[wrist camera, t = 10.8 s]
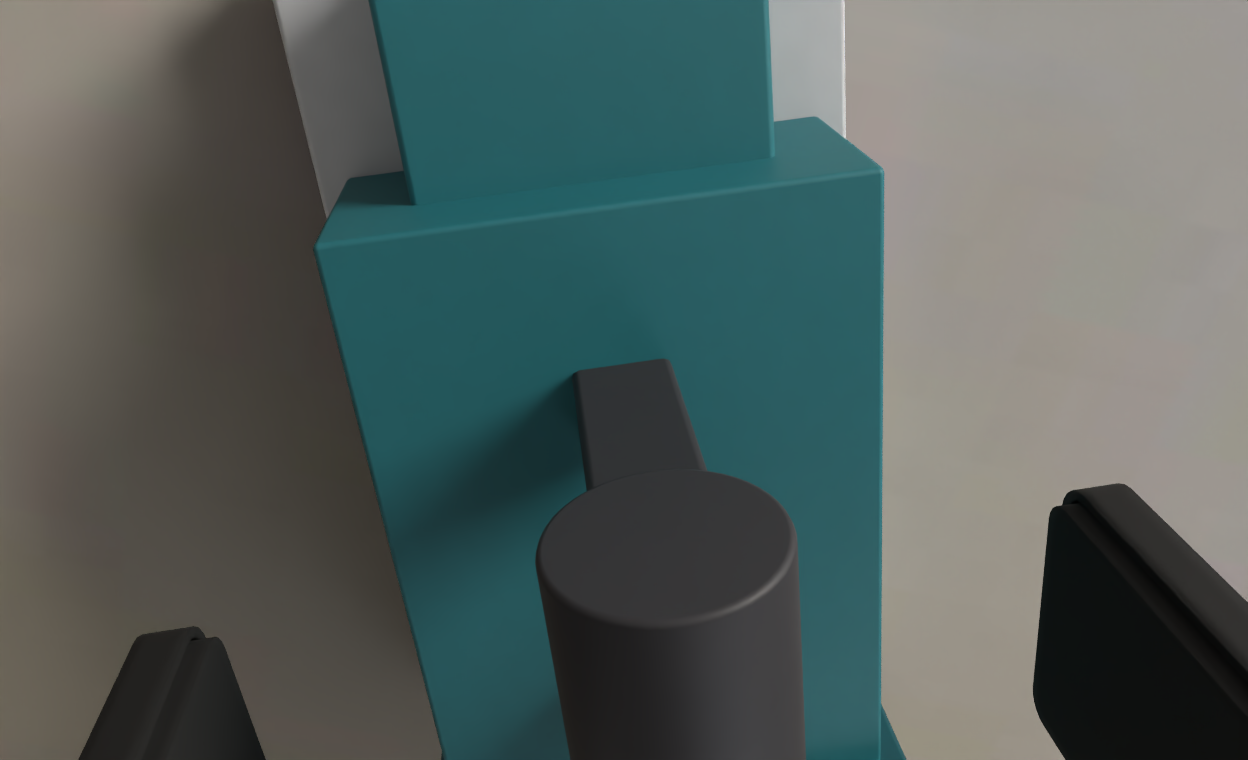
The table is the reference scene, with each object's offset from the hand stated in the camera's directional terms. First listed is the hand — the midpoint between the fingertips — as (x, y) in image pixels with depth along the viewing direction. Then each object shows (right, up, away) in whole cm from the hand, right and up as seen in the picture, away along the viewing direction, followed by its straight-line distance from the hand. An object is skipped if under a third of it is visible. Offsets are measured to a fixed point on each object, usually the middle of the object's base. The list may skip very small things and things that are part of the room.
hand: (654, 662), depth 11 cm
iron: (-1, +3, +5) cm, 6 cm away
